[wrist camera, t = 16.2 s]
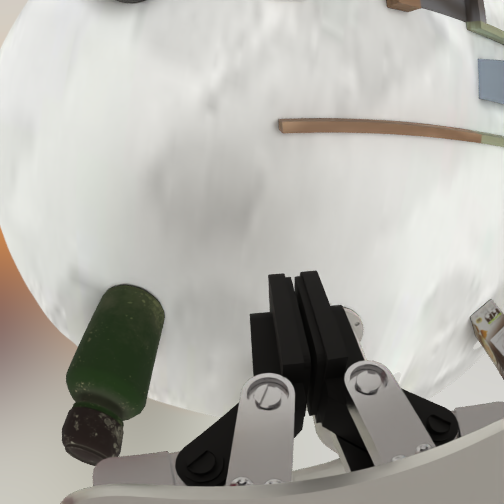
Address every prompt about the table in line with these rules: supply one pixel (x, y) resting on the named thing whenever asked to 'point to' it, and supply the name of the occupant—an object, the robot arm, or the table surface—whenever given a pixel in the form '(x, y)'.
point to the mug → (130, 1)
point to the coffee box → (491, 332)
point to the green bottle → (111, 372)
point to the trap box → (448, 3)
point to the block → (491, 80)
